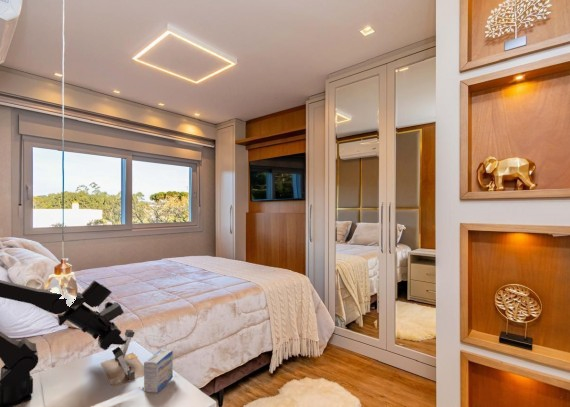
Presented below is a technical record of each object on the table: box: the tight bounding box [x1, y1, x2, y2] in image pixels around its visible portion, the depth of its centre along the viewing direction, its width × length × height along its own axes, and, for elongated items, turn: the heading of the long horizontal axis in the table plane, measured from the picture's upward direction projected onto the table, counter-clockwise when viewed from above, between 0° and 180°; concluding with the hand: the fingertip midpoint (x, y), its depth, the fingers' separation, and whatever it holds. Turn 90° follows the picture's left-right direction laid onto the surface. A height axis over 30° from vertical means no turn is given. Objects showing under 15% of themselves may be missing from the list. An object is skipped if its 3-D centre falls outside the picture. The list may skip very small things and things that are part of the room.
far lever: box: [120, 329, 136, 357], centre depth 99 cm, size 2×3×9 cm, turn 43°
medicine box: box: [143, 349, 174, 394], centre depth 87 cm, size 8×4×9 cm, turn 168°
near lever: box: [111, 346, 131, 377], centre depth 88 cm, size 2×3×9 cm, turn 44°
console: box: [100, 352, 144, 388], centre depth 93 cm, size 10×18×4 cm, turn 43°
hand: (124, 343), depth 99 cm, fingers closed, pressing on far lever
